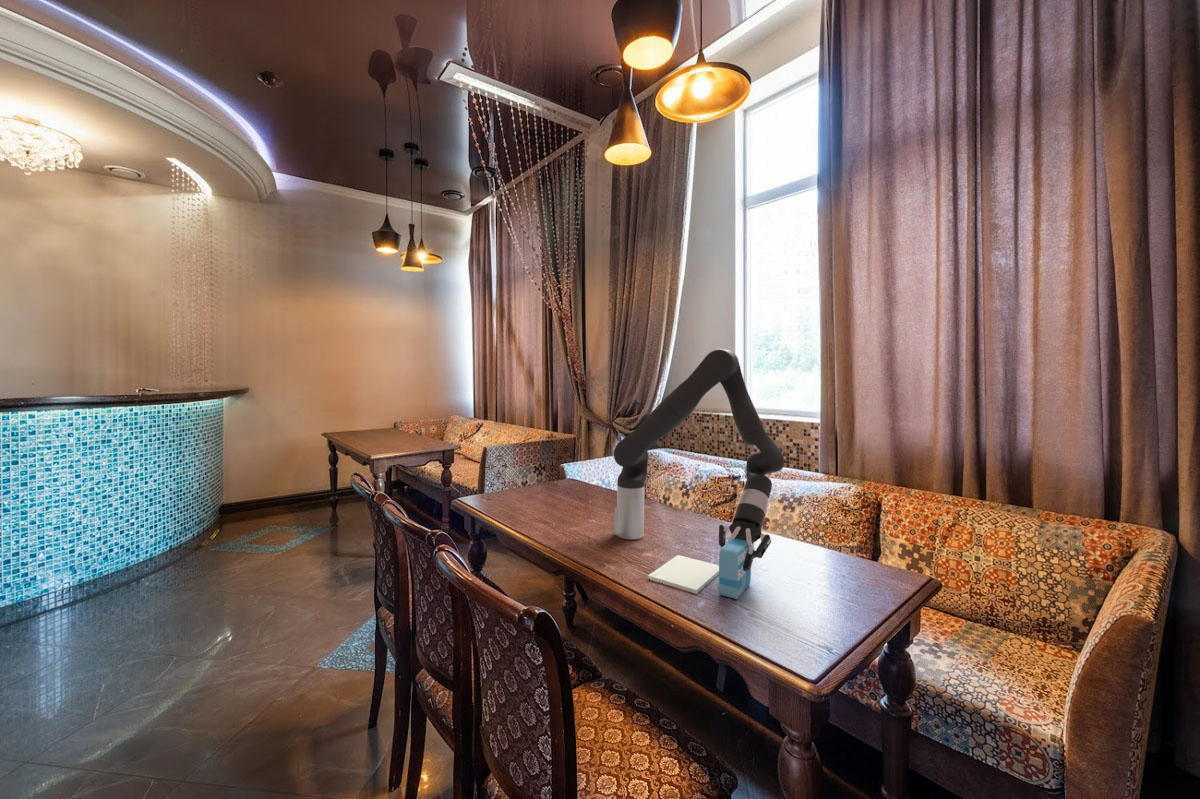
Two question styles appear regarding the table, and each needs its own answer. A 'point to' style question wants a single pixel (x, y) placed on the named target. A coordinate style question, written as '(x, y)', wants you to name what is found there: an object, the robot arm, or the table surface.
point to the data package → (733, 569)
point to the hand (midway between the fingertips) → (734, 566)
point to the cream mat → (685, 573)
